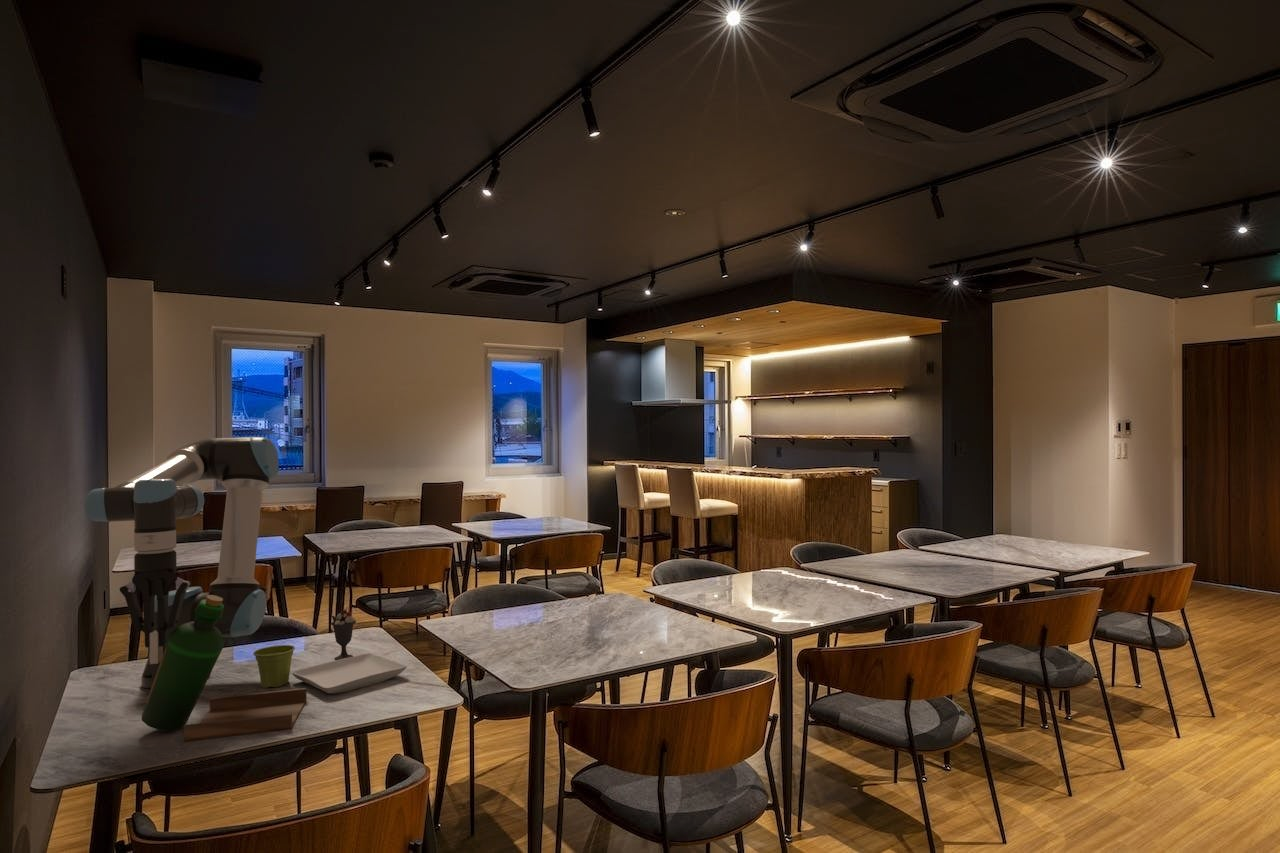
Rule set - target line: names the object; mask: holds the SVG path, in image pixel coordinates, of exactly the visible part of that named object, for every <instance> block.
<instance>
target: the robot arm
mask: <svg viewBox="0 0 1280 853" xmlns="http://www.w3.org/2000/svg"><path fill="white" fill-rule="evenodd" d="M278 457H279V456H278V452H277V449H276V446H275V444H274V443H273V441H272V440H271V439H269V438H267V437H263V436H262V437H260V436H246V437H245V436H244V437H211V438H206V439H201V440H198V441H195V442H193V443H189V444H187V445H185V446H182V447H180V448H178V449H176V450H174V451H172V452H171V453H169V455H168V456H167V457H166V459H165V460H164V461H162V462H160V463H158V464H157V465H154V466H153V467H150V468H148V469H147V470H145V471H144V472H143V471H142V472H141V473H139V474H137V475H136V476H133V477H132V478H130V479H128V480H126V481H124V482H122V483H120V484H118V485H116V486H114V487H102V488H94V489H91V490H90V491H89V492H88V493H87V495H86V496H85V499H84V506H83V507H84V513H85V515H86V517H87V518H88V519H89V520H90V521H92V522H106V523H110V522H129V521H133V522H134V525H133V526H134V530H133V531H134V533H133V534H134V535H133V541H134V542H133V547H134V548H133V549H134V551H135V552H136V553H135V554H134V556H133V559H134V563H133V564H134V567H133V569H134V570H133V571H134V573H133V576H132V579H131V581H130V582H128V583H127V584H125V585H123V586H121V587H119V591H120V592H119V593H121V594H122V595H123V597H124V598H125V602H126V605H127V608H128V612H129V615H130V619H131V623H132V625H133V629H134V631H140V632H143V634H144V647H145V648H148V649H149V652H148V653H149V655H148V656H147V657H148V658H147V659H146V662H145V667H144V668H143V672H142V675H141V687H142V688H144V689H148V690H149V689H150V690H151V688H152V685H153V682H154V679H155V676H156V673H157V671H158V668H159V665H160V662H161V659H162V656H163V653H164V651H165V648H166V645H167V642H168V639H169V636H170V634H171V632H172V631H173V630H175V629H176V628H177V627H179V626H181V625H183V624H185V623H189V622H194V620H195V617H196V613H195V609H196V607H197V606H198V604H199V603H200V602H201V601H202V600H206V597H207V596H208V595H215V596H218V597H221V598H222V599H223V601H222V604H223V605H224V609H223V615H222V617H221V618H219V619H218V620H217V622H216V624H215V627H216V628H217V629H218V630H219V631H220V632H221V633H222V636H223V638H227V637H228V638H229V637H232V638H236V637H237V638H238V637H241V636H249V635H252V634H254V633H255V632H256V631H257V630H258V629H259V628H260V626H261V625H262V622H263V620H264V617H265V615H266V609H267V603H268V601H267V595H266V592H265V591H264V590H263V589H260V582H259V581H257V579H255V570H256V569H255V568H256V557H257V549H258V548H257V547H258V538H259V527H260V518H261V517H260V515H261V506H262V495H263V494H262V493H263V491H264V490H265V489H266V488H268V487H269V485H270V479H274V478H276V477H277V476H278V473H279V466H280V465H279V464H280V463H279V458H278ZM204 480H221V485H222V486H223V487H224V488H225V489H226V497H225V507H224V515H223V525H222V533H221V542H220V552H219V559H218V560H219V562H218V570H217V577H216V579H215V580H213V581H212V582H211V583H210V585H209V591H208V592H203V591H204V590H203V588H202V587H201V586H191V584H192V582H191V581H190V580H184V579H182V578H181V577H180V574H179V573H178V570H177V551H176V550H174V549H176V547H177V520H182V519H189V518H191V517H193V516H196V515H197V514H199V513H200V512H201V511H202V509H203V507H204V505H205V496H204V494H203V492H202V490H201V489H200V488H198V487H196V486H194V485H191V484H193V483H195V482H197V481H204ZM173 586H175V590H172V588H173ZM137 590H139V591H140V593H141V595H142V601H143V613H142V610H141V606H140V602H139V599H138V596H137V593H136V591H137Z"/></svg>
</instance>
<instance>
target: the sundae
mask: <svg viewBox="0 0 1280 853" xmlns="http://www.w3.org/2000/svg"><path fill="white" fill-rule="evenodd" d="M352 605H353V604H352V603H349V605H348V606H347V607H346V608H345V609H343V610H342V611H341V612H340V613H338V614H337V615H336V616H334V615H331V618H332V622H330V623H329V624H330V625H331V626H332V627H333V630H334V639H335V642H336V643H337V645H339V646H340V647H341V652H340V654H339V655H338V656H336V657H334V661H335V660H340V659H344V658H349V657H354V655H353V654H348V652H347V645H348V644H349V643H350V642H352V636H353V631H354V630H353V629H354V625H355V624H356V623H357V620H356V619H355V618H354V616H353V615H352V612H351V611H350V608H351V606H352Z"/></svg>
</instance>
